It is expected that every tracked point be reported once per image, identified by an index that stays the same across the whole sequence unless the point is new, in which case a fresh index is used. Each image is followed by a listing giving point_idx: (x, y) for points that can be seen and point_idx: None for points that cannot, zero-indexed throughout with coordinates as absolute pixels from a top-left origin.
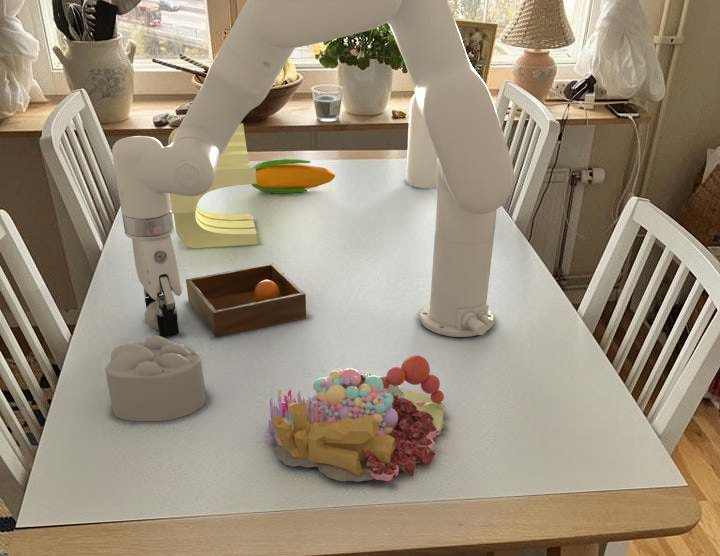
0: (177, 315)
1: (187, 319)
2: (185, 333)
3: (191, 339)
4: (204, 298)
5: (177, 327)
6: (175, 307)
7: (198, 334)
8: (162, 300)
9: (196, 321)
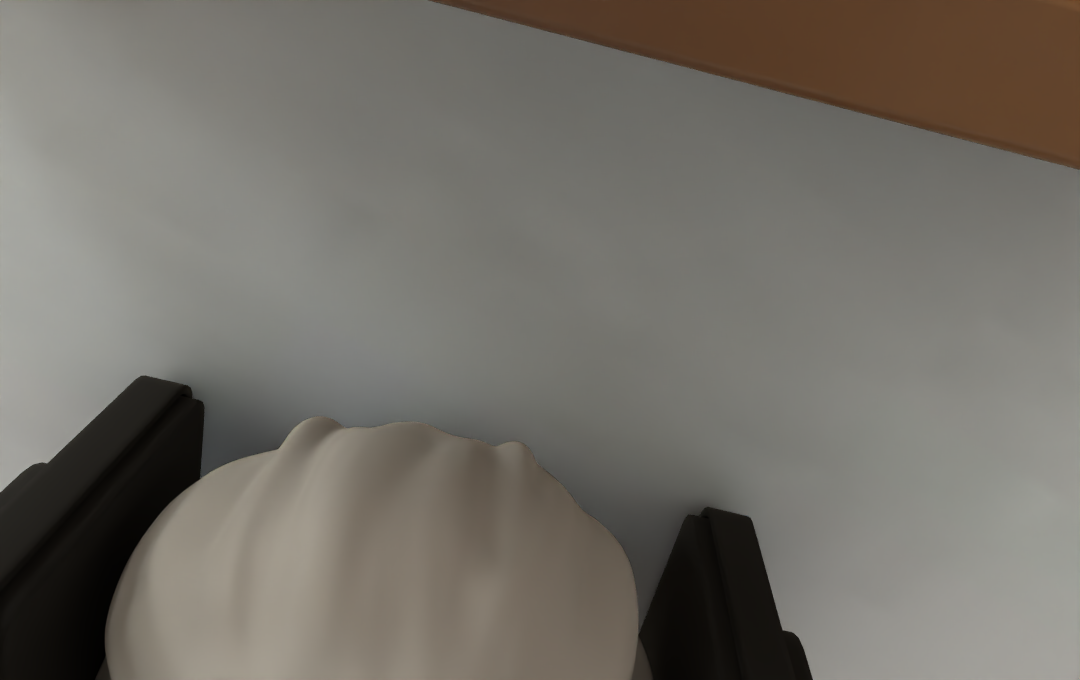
0: (555, 521)
1: (389, 165)
2: (757, 416)
3: (960, 446)
4: (867, 10)
5: (763, 587)
6: (373, 508)
7: (925, 304)
8: (40, 604)
9: (541, 90)
